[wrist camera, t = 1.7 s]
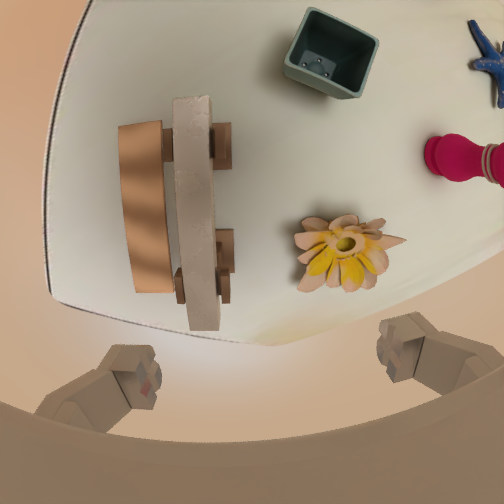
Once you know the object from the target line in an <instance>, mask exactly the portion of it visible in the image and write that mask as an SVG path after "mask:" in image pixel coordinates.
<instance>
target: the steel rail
mask: <svg viewBox="0 0 504 504" xmlns="http://www.w3.org/2000/svg"><path fill="white" fill-rule="evenodd" d="M173 154H174V178H175V196H176V211H177V224H178V236H179V247H180V257H181V266H182V275H183V283H184V291H185V299H186V307H187V314H188V321H189V327H190V331H219V326H220V316H221V314H220V301H219V287H218V271H217V255H216V236H215V215H214V190H213V155H212V101H211V100H210V98H209V96H195V97H184V98H175V99H173Z"/></svg>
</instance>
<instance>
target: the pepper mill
mask: <svg viewBox="0 0 504 504" xmlns="http://www.w3.org/2000/svg"><path fill="white" fill-rule="evenodd" d="M424 153H425V161H426V164H427V166H428V168H429V169H430V170H431V171H432V172H433V173H434V174H436V175H441V176H444V177H445V178H447V179H448V180H450V181H454V182H462V181H466V180H469V179H471V178H473V177H476V176H481V177H486V179H487V180H488V181H489V182H491V183H496V184H500V186H501V187H502V188H504V143H501V144H500V145H498V144H488V145H487V146H486V147H483V146H479V145H477V144H475V143H473V142H472V141H470V140H469V139H467V138H466V137H464V136H461V135H459V134H447V135H445V136H443V137H440V136H436V137H432V138H431V139H430V140H429V141H428V142H427V144H426V147H425V152H424Z"/></svg>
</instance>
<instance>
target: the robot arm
mask: <svg viewBox="0 0 504 504" xmlns="http://www.w3.org/2000/svg"><path fill="white" fill-rule="evenodd" d="M379 331H380V333H381V334H382V335H381V336H380V338H379V339H378V340H377V355H378V359H379V361H380V362H381V364H382V365H385V366H387V371H386V372H387V374H388V375H389V377H390V379H391V380H392V382H393V383H396V382H400V381H403V380H407V379H410V378H413V377H414V379H415V380H417V381H418V382H420V383H422V384H424V385H425V386H427V387H429V388H431V389H432V390H434V391H436V392H437V393H439V394H441V395H443V396H441V397H439V398H437V399H434V400H432V401H429V402H427V403H424V404H422V405H419V406H416V407H414V408H411V409H408V410H405V411H402V412H399V413H396V414H393V415H390V416H387V417H383V418H380V419H377V420H373V421H369V422H366V423H362V424H358V425H354V426H350V427H345V428H341V429H336V430H331V431H326V432H321V433H316V434H310V435H304V436H297V437H291V438H282V439H273V440H262V441H248V442H228V443H227V442H225V443H196V442H194V443H193V442H173V441H159V440H150V439H141V438H133V437H126V436H120V435H114V434H107V433H106V432H107V431H109V430H110V429H111V428H112V427H113V426H114V425H115V424H116V423H117V422H118V421H120V420H121V419H122V418H123V417H124V416H125V415H126V414H127V413H129V412H130V411H131V409H146V410H152V409H153V407H154V404H155V401H156V398H157V396H156V394H155V392H156V391H157V390H158V389H160V386H161V383H162V373H161V369H160V366H159V364H158V363H157V362H156V361H154V357H155V352H154V350H153V347H152V346H150V345H125V344H124V345H120V344H115V345H112V346H111V348H110V350H109V351H108V353H107V354H106V356H105V357H104V359H103V360H102V362H101V363H100V365H99V366H98V368H97V369H96V370H95V369H93V370H91V371H89V372H87V373H86V374H84V375H82V376H80V377H78V378H77V379H75V380H73V381H71V382H70V383H68V384H66V385H64V386H62V387H60V388H59V389H57V390H55V391H53V392H51V393H50V394H48V395H46V397H45V398H44V400H43V401H42V403H41V404H40V406H39V407H38V409H37V410H36V411H35V413H34V414H31V413H29V412H26V411H23V410H21V409H18V408H16V407H13V406H11V405H8V404H6V403H3V402H1V401H0V504H504V357H503V356H502V355H501V354H500V353H499V352H498V351H497V350H496V349H495V348H494V347H493V346H490V345H486V344H483V343H480V342H477V341H473V340H470V339H467V338H463V337H460V336H457V335H454V334H450V333H447V332H444V331H441V332H439V331H438V330H437V329H436V328H435V327H434V326H433V325H432V324H431V323H429V321H428V320H426V319H425V318H424V317H423V316H422V315H421V314H420V313H419V312H412V313H408V314H405V315H402V316H398V317H394V318H389V319H385V320H382V321H381V322H380V326H379Z"/></svg>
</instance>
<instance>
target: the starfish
mask: <svg viewBox="0 0 504 504" xmlns="http://www.w3.org/2000/svg"><path fill="white" fill-rule="evenodd" d="M469 25H470V29H471V31H472V34H473V35H474V37H475V40H476V41H477V43H478V45H479V47H480V48H481V50H482V51H483V53H484V55H485V58H480V59H476V60H475V62H473V64H472V65H473V67H474V68H475V69H476V70H478V71H479V70H486V71H488V72H491V73H492V74H493V75H494V77H495V80H496V83H497V87H498V95H499V96H498V102H497V105H498V107H499V108H500V109H502V108H504V41H503V44H502V51H501V52H500V53H498V52H497V50H496V49H495V47H494V46H493V45H492V44H491V42H490V41H489V40H488V38H487V37H486V36H485V35H484V34H483V32H482V31H481V30H480V28H479V26H478V24H477V23H476V21H475V20H470V21H469Z"/></svg>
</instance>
